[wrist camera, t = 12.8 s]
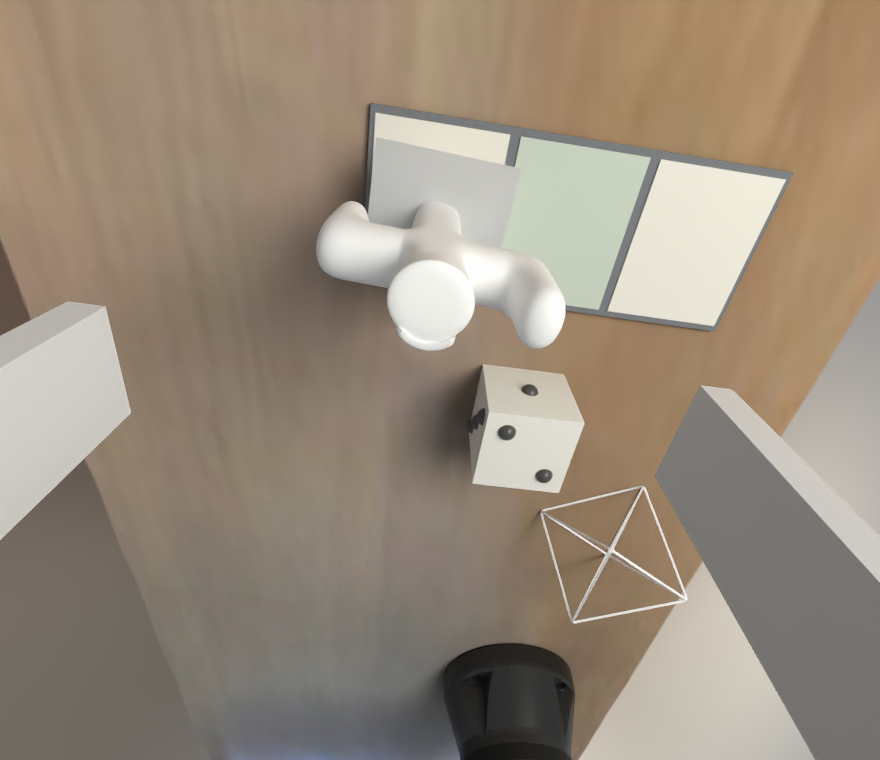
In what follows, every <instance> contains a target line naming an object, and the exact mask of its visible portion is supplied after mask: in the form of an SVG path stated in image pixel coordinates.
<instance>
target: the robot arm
mask: <svg viewBox="0 0 880 760" xmlns="http://www.w3.org/2000/svg"><path fill="white" fill-rule="evenodd" d="M130 414H131V410H130V406H129V402H128V398H127V394H126V389H125V385H124V381H123V377H122V373H121V369H120V365H119V360H118V356H117V352H116V348H115V344H114V340H113V336H112V331H111V327H110V323H109V319H108V315H107V311H106V307H105V306H99V305H92V304H84V303H77V302H69V301H67V302H65V303H63V304H61V305H60V306H58V307H56V308H54V309H52V310H50V311H48V312H46V313H44V314H42V315H40V316H38V317H36V318H34V319H32V320H30V321H28V322H27V323H24V324H23V325H21V326H19V327H17V328H15V329H13V330H11V331H9V332H7V333H5V334H3V335H1V336H0V540H1V539H2V538H3V537H4V536H5V535H6V534H7V533H8V532H9V531H10V530H11V529H12V528H13V527H14V526H15V525H16V524H17V523H18V522H19V521H20V520H21V519H22V518H23V517H24V516H26V514H28V513H29V512H30V511H31V510H32V509H33V508H34V507H35V506H36V505H37V504H38V503H39V502H40V501H41V500H42V499H43V498H44V497H45V496H46V495H47V494H48V493H49V492H50V491H51V490H52V489H53V488H54V487H55V486H56V485H57V484H58V483H60V482H61V481H62V480H63V479H64V478H65V476H67V475H68V474H69V473H70V472H71V471H72V470H73V469H74V468H75V467H76V466H77V465H78V464H79V463H80V462H81V461H82V460H83V459H84V458H85V457H86V456H87V455H88V454H89V453H90V452H91V451H92V450H94V449H95V448H96V447H97V446H98V445H99V444H100V443H101V442H102V441H103V440H104V439H105V438H106V437H107V436H108V435H109V434H110V433H111V432H112V431H113V430H114V429H115V428H116V427H117V426H118V425H119V424H120V423H121V422H122V421H123V420H124V419H125V418H126V417H128V416H129V415H130ZM655 477H656V479H657V480H658V482H659V484H660V486H661V487H662V489H663V491H664V493H665V494H666V496H667V498H668V500H669V502H670V503H671V505H672V507H673V509H674V510H675V512H676V514H677V516H678V518H679V519H680V521H681V523H682V525H683V526H684V528H685V530H686V532H687V533H688V535H689V537H690V539H691V541H692V542H693V544H694V546H695V548H696V549H697V551H698V553H699V555H700V556H701V558H702V560H703V562H704V563H705V565H706V567H707V569H708V571H709V572H710V574H711V576H712V578H713V580H714V581H715V583H716V585H717V586H718V588H719V590H720V592H721V593H722V595H723V597H724V599H725V601H726V602H727V604H728V606H729V608H730V609H731V611H732V613H733V615H734V617H735V618H736V620H737V622H738V624H739V626H740V627H741V629H742V631H743V632H744V634H745V636H746V638H747V640H748V641H749V643H750V645H751V647H752V649H753V650H754V652H755V654H756V655H757V657H758V659H759V661H760V663H761V664H762V666H763V668H764V670H765V672H766V673H767V675H768V677H769V679H770V680H771V682H772V684H773V686H774V687H775V689H776V691H777V693H778V695H779V696H780V698H781V700H782V702H783V703H784V705H785V707H786V709H787V710H788V712H789V714H790V716H791V718H792V719H793V721H794V723H795V725H796V726H797V728H798V730H799V732H800V733H801V735H802V737H803V739H804V741H805V742H806V744H807V746H808V748H809V749H810V751H811V753H812V755H813V757H814V758H815V760H880V536H879V535H878V534H877V533H876V532H875V531H874V530H873V529H872V528H871V527H870V526H869V525H868V524H867V523H866V522H865V521H864V520H863V519H862V518H861V517H860V516H859V515H858V514H857V513H856V512H855V511H854V510H853V509H852V508H851V507H850V506H849V505H848V504H847V503H846V502H845V501H844V500H843V499H842V498H841V497H840V496H839V495H838V494H837V493H836V492H835V491H834V490H833V489H832V488H831V487H830V486H829V485H828V484H827V483H826V482H825V481H824V480H823V479H822V478H821V477H820V476H819V475H818V474H817V473H816V472H815V471H814V470H813V469H812V468H811V467H810V466H809V465H808V464H807V463H805V461H804V460H803V459H802V458H800V456H799V455H798V454H797V453H796V452H795V451H794V450H793V449H792V448H791V447H790V446H789V445H788V444H787V443H786V442H785V441H784V440H782V438H781V437H780V436H779V435H777V434H776V433H775V432H774V431H773V430H772V429H771V428H770V427H769V426H768V425H767V424H766V423H765V422H764V421H763V420H762V419H761V418H760V417H759V416H758V415H757V414H756V413H755V412H754V411H753V410H752V409H751V408H750V407H749V406H748V405H747V404H746V403H745V402H744V401H743V400H742V399H741V398H740V397H739V396H738V395H737V394H736V393H735V392H734V391H733V390H732V389H724V388H716V387H709V386H701V385H700V387H699V389H698V391H697V393H696V395H695V397H694V399H693V401H692V403H691V405H690V407H689V409H688V411H687V413H686V415H685V417H684V419H683V421H682V423H681V425H680V426H679V428H678V430H677V432H676V434H675V436H674V438H673V440H672V442H671V444H670V446H669V448H668V450H667V452H666V454H665V456H664V458H663V460H662V462H661V464H660V466H659V468H658V470H657V472H656V474H655ZM444 698H445V704H446V707H447V711H448V715H449V718H450V722H451V725H452V729H453V732H454V736H455V739H456V743H457V746H458V750H459V754H460V760H572V757H571V742H572V728H573V715H574V702H575V690H574V685H573V680H572V676H571V671H570V668H569V666H568V665H567V663H566V662H565V661H564V660H563V659H562V658H560V657H559V656H557V655H556V654H554V653H552V652H550V651H547V650H545V649H541V648H538V647H533V646H528V645H518V644H504V645H494V646H488V647H483V648H479V649H476V650H473V651H470V652H468V653H466V654H464V655H462V656H460V657H459V658H457V659H456V660H455V661H453V662H452V663H451V664H450V666H449V667H448V668H447V670H446V672H445V676H444Z"/></svg>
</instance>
